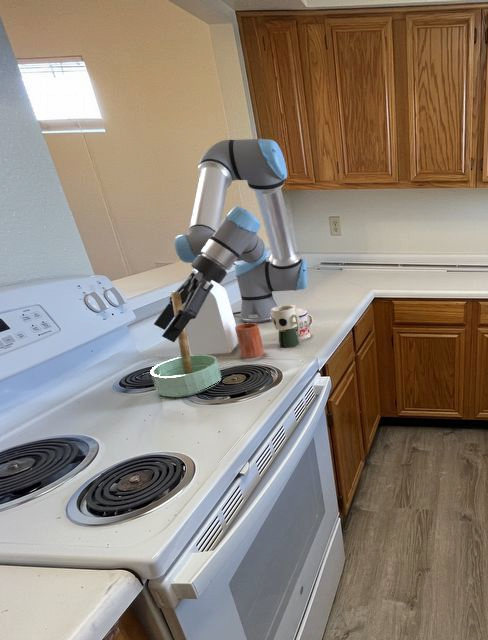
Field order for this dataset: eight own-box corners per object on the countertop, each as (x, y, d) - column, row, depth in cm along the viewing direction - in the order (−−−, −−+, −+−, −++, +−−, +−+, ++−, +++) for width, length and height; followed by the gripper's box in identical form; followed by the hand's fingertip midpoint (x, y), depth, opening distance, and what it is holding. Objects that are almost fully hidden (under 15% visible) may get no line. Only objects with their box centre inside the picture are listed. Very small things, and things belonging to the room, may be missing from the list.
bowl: (149, 388, 110) (141, 367, 107) (208, 370, 120) (202, 350, 118) (170, 405, 100) (162, 382, 98) (232, 383, 111) (227, 363, 108)
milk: (231, 354, 131) (210, 271, 120) (192, 357, 130) (168, 273, 119) (241, 342, 142) (223, 264, 131) (205, 345, 140) (184, 266, 130)
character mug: (269, 348, 135) (261, 309, 130) (283, 341, 141) (276, 304, 136) (296, 352, 131) (289, 312, 126) (310, 344, 137) (303, 306, 132)
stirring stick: (184, 383, 110) (169, 291, 104) (192, 381, 111) (178, 290, 105) (187, 384, 108) (172, 291, 102) (195, 383, 110) (181, 291, 104)
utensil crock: (238, 357, 129) (231, 326, 124) (258, 351, 133) (251, 321, 129) (248, 362, 125) (241, 330, 121) (268, 356, 129) (261, 325, 125)
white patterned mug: (295, 344, 139) (289, 310, 134) (278, 339, 143) (271, 306, 139) (322, 334, 148) (318, 301, 143) (305, 330, 152) (300, 299, 148)
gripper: (241, 278, 99) (188, 353, 96) (215, 266, 116) (170, 329, 114) (212, 257, 94) (155, 336, 91) (189, 248, 111) (141, 314, 109)
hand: (163, 332), depth 103 cm, fingers open, 12 cm apart
